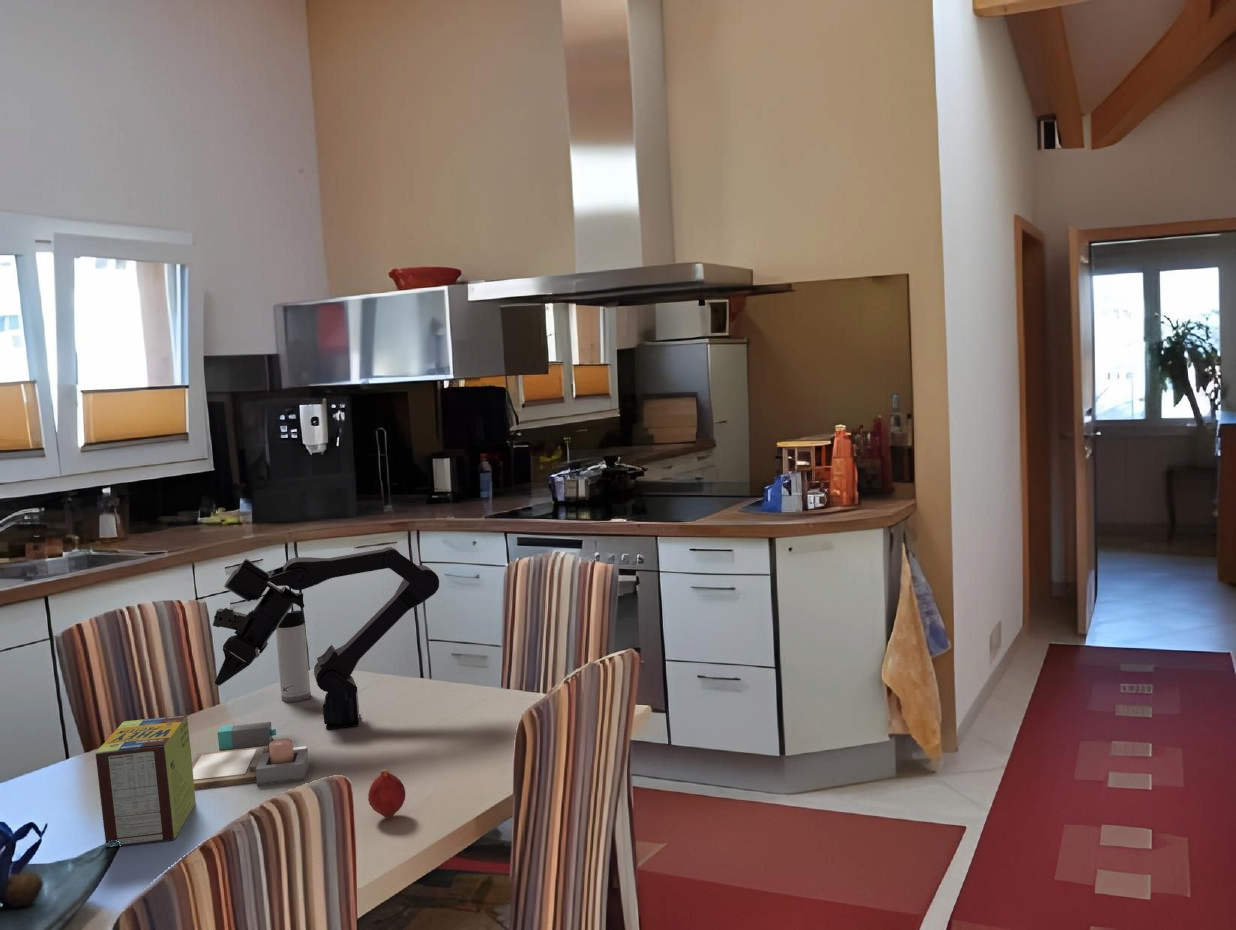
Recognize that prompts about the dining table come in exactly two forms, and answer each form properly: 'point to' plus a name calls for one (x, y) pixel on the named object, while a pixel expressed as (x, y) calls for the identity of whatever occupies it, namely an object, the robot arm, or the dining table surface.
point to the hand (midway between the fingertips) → (220, 680)
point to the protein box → (146, 780)
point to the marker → (245, 735)
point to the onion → (386, 794)
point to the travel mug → (293, 657)
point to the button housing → (282, 769)
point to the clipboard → (226, 767)
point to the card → (299, 748)
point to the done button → (281, 751)
